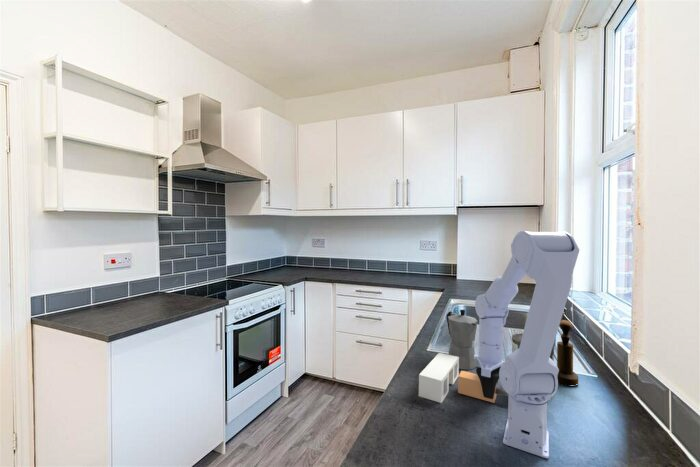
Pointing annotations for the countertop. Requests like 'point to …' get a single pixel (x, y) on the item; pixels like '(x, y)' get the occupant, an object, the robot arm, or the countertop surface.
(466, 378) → the plug
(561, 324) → the wooden pepper mill
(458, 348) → the coffeepot
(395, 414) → the countertop surface
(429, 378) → the white rectangular block
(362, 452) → the countertop surface
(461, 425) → the countertop surface
